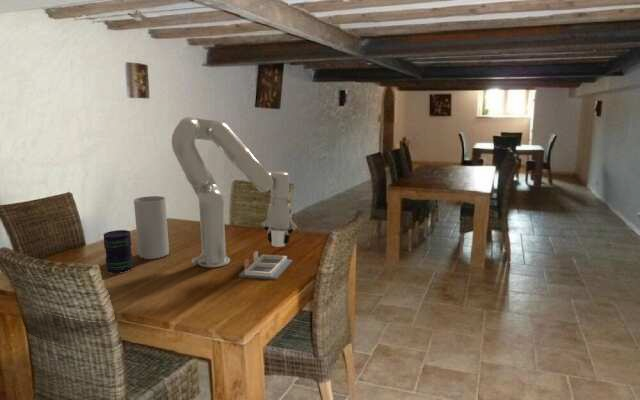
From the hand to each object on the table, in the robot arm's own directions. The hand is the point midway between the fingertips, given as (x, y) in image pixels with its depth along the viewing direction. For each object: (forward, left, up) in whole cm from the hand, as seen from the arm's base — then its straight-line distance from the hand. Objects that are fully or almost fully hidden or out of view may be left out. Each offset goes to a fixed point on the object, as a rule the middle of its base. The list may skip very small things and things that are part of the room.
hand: (278, 242), depth 199 cm
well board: (-13, -8, -6) cm, 17 cm away
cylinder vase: (-35, +42, -7) cm, 55 cm away
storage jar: (-53, +35, -7) cm, 64 cm away
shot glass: (0, 0, -1) cm, 1 cm away
